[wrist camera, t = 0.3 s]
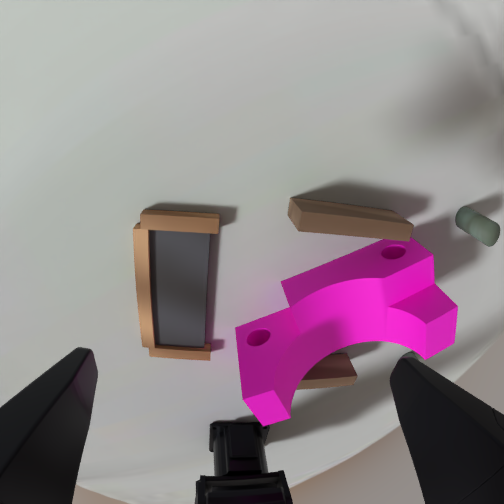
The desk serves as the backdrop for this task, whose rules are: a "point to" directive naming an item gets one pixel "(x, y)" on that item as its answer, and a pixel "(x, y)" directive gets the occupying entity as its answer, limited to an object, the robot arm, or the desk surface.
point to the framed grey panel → (196, 271)
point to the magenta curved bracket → (343, 320)
